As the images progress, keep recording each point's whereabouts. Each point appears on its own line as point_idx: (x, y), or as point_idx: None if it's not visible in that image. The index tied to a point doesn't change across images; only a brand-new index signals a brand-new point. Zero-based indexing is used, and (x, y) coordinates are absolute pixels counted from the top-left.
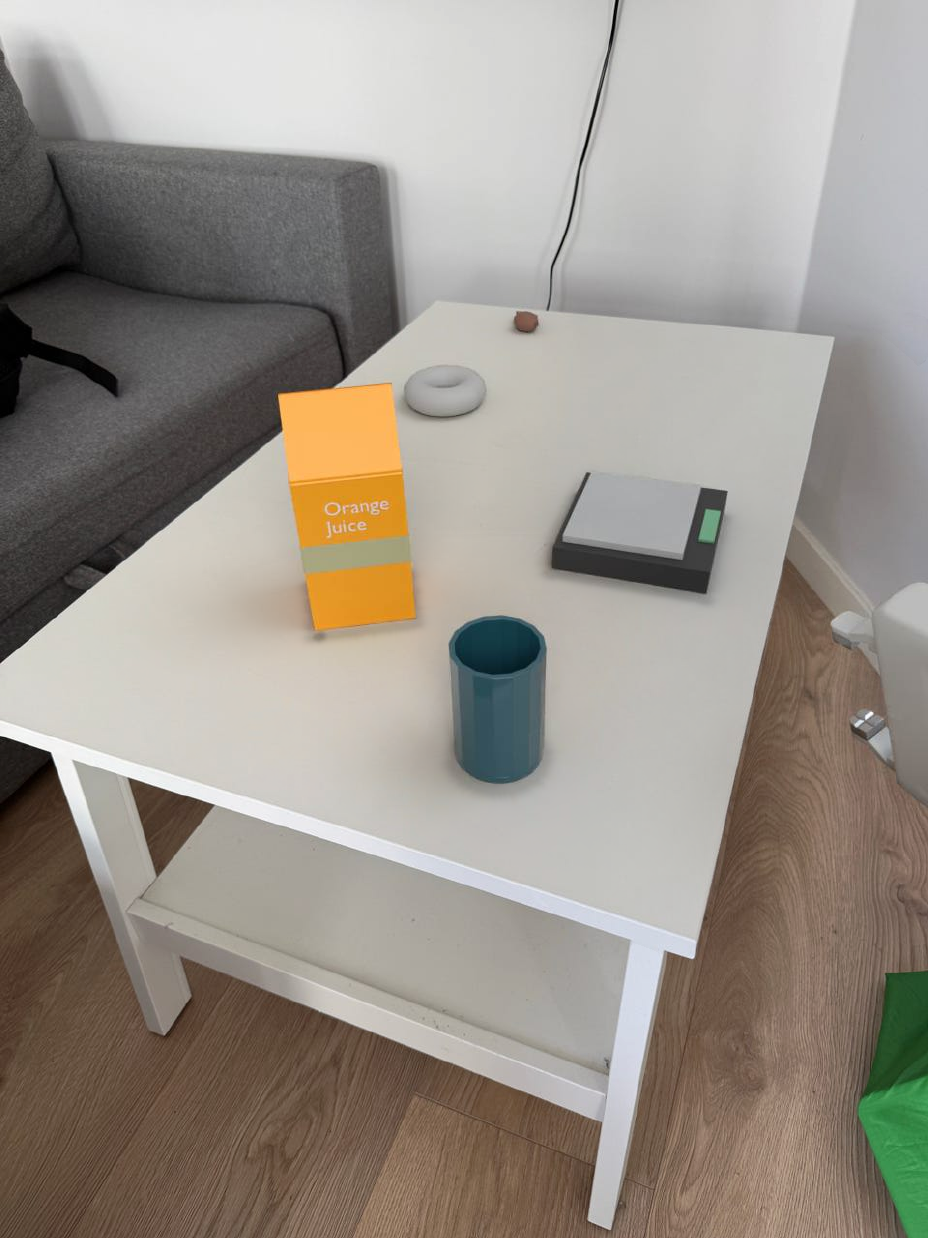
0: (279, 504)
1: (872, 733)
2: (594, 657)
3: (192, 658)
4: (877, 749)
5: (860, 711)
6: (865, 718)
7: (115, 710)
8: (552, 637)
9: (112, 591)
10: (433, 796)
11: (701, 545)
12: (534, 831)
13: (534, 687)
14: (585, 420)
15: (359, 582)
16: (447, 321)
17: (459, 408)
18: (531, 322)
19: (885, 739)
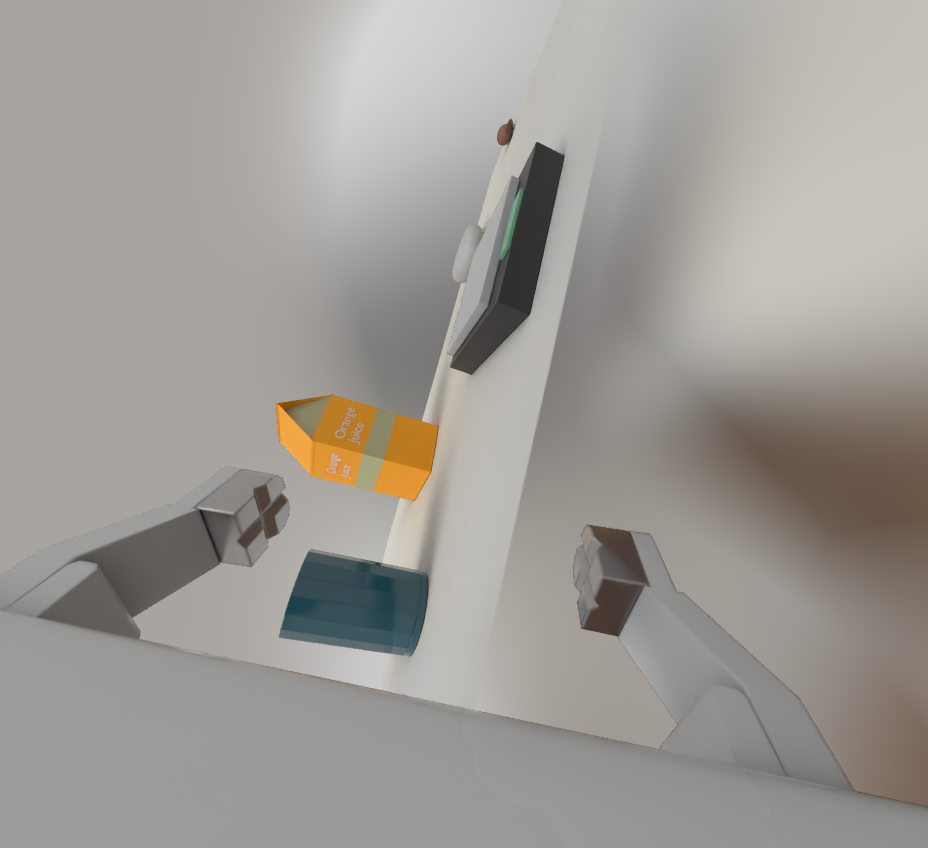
0: (430, 404)
1: (614, 617)
2: (463, 474)
3: (397, 536)
4: (648, 677)
5: (583, 534)
6: (589, 562)
7: None
8: (456, 459)
9: None
10: (396, 664)
11: (502, 264)
12: None
13: (309, 626)
14: None
15: (389, 479)
16: (490, 186)
17: (468, 262)
18: (503, 133)
19: (659, 640)
